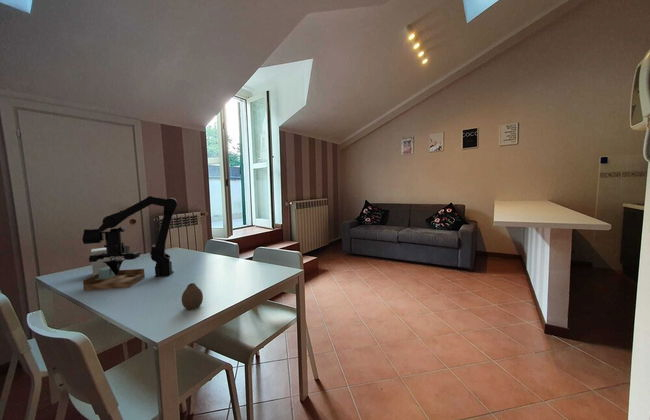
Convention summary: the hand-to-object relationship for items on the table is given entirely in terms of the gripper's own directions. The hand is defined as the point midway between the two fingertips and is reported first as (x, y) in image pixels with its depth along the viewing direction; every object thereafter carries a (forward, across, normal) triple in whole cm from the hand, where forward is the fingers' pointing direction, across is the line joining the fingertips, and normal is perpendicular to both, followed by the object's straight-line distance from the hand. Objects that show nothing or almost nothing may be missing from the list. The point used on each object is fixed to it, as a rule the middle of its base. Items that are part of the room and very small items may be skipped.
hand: (116, 274), depth 124 cm
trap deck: (+4, -1, +3) cm, 5 cm away
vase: (+4, -45, +37) cm, 58 cm away
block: (+1, +4, 0) cm, 4 cm away
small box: (+4, +16, -15) cm, 22 cm away
